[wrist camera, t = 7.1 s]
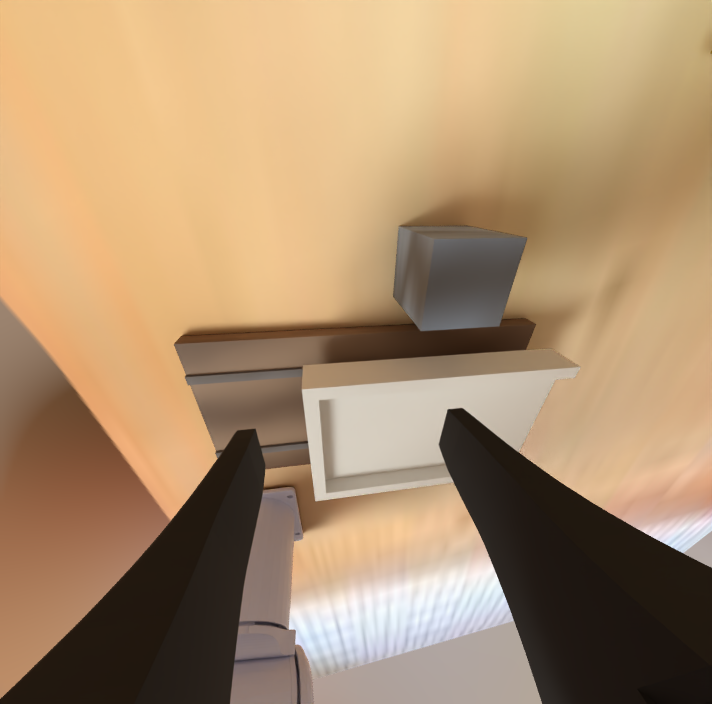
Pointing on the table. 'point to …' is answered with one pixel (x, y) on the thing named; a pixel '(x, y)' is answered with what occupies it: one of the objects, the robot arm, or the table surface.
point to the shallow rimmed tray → (415, 413)
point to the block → (455, 275)
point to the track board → (285, 369)
